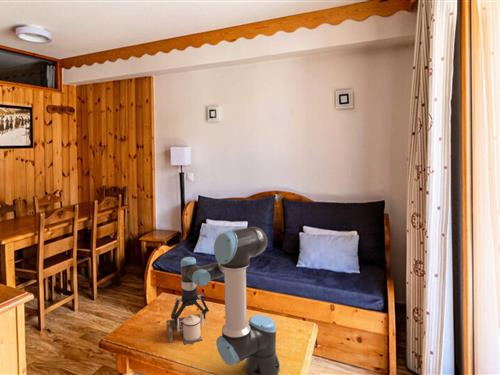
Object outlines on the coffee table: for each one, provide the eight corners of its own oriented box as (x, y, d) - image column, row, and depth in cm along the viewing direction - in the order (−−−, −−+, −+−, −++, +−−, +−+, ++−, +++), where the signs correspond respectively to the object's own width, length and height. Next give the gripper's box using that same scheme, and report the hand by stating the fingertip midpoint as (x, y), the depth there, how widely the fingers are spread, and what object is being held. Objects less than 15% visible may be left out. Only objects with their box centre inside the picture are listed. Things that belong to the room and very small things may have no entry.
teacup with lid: (204, 333, 169) (203, 312, 168) (194, 343, 161) (193, 321, 160) (185, 328, 174) (184, 307, 173) (174, 337, 166) (173, 316, 165)
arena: (207, 339, 165) (206, 328, 164) (171, 347, 158) (170, 336, 157) (200, 323, 179) (199, 313, 178) (166, 331, 172) (166, 320, 171)
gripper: (210, 280, 173) (211, 319, 175) (163, 288, 164) (165, 328, 166) (214, 286, 166) (215, 326, 169) (166, 295, 157) (167, 336, 160)
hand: (190, 327), depth 168 cm, fingers open, 12 cm apart
